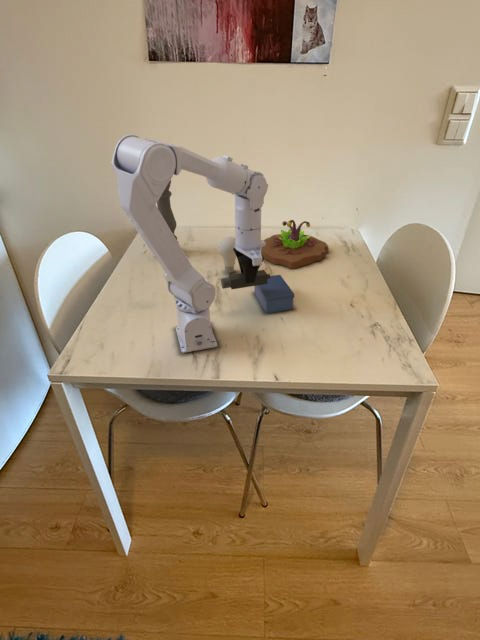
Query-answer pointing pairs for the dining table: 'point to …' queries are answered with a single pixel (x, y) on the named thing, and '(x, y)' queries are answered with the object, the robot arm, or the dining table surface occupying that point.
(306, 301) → the dining table surface
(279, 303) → the blue box
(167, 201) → the candle holder
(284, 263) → the plant
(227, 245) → the lightbulb
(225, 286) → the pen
